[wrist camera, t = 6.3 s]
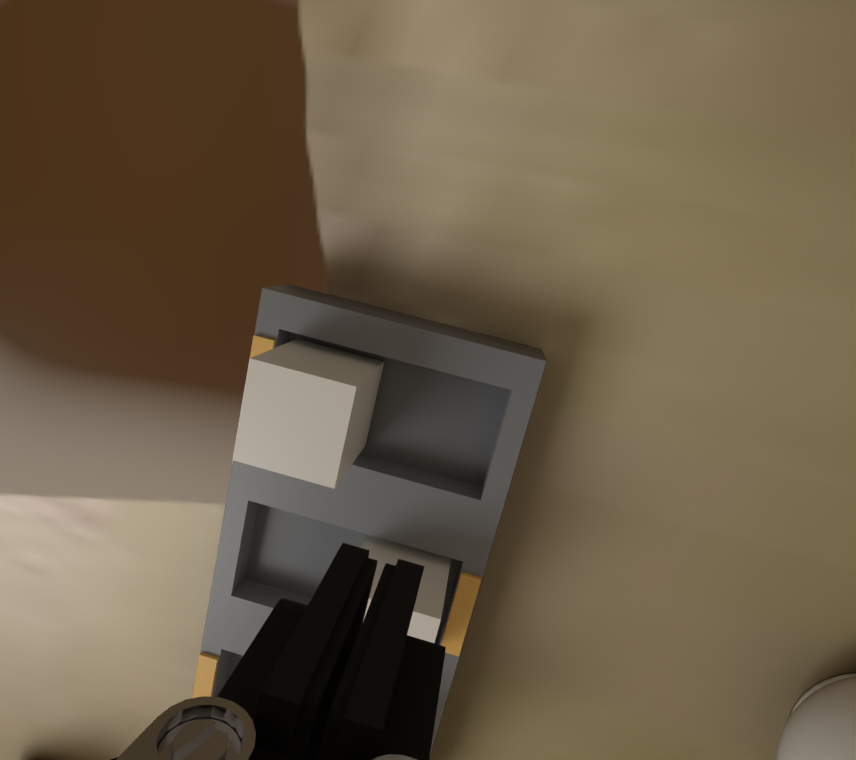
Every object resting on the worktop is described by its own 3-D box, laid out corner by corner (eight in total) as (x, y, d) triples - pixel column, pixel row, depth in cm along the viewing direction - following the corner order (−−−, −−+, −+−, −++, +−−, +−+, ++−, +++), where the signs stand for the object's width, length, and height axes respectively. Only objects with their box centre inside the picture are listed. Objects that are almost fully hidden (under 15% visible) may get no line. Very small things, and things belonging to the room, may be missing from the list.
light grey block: (297, 338, 26) (249, 358, 21) (384, 361, 25) (356, 386, 21) (281, 422, 27) (232, 460, 22) (365, 445, 26) (334, 488, 21)
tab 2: (369, 530, 27) (340, 590, 22) (451, 553, 27) (440, 619, 22) (351, 603, 28) (320, 675, 23) (431, 626, 28) (416, 705, 23)
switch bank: (288, 284, 27) (260, 288, 24) (541, 349, 26) (546, 362, 23) (212, 705, 33) (181, 753, 29) (418, 770, 32) (409, 826, 29)
